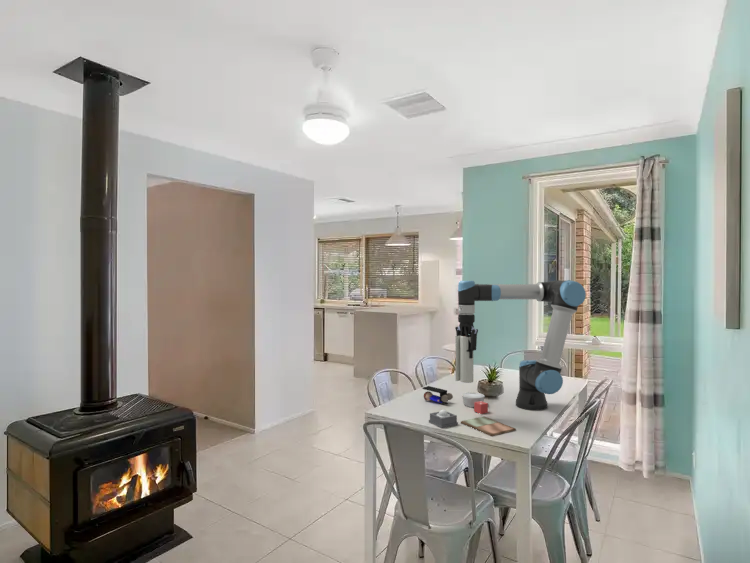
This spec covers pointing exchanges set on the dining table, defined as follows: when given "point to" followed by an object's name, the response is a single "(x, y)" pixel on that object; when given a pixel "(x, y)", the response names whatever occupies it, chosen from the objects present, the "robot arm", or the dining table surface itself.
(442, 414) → the pop dome
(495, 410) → the dining table surface
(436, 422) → the button base
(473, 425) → the game board
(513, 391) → the dining table surface
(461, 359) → the paper towel roll
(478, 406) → the red die
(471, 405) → the ramekin
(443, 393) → the figurine character
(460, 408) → the dining table surface
